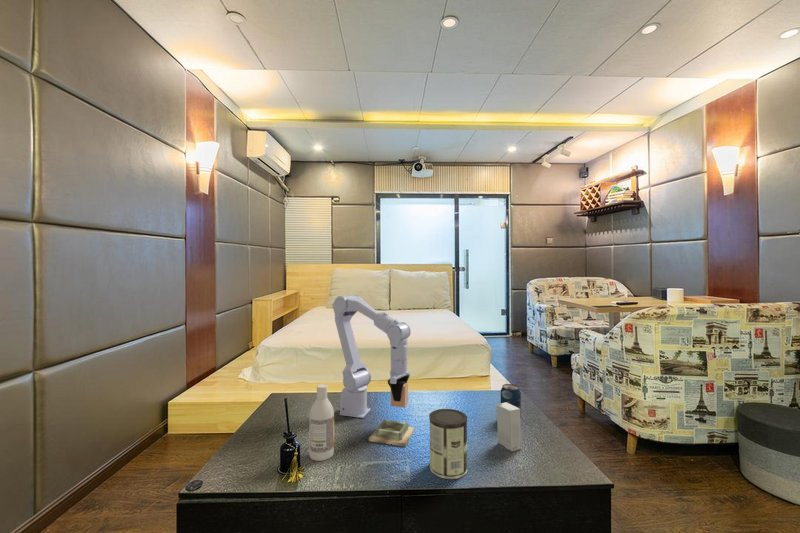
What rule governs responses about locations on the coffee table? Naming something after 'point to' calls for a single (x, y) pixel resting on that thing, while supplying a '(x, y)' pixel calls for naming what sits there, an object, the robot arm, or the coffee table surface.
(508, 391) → the soda can
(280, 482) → the coffee table surface
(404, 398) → the keyed peg
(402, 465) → the coffee table surface
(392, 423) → the socket stand
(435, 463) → the coffee can
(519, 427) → the skincare box
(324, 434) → the bath foam
